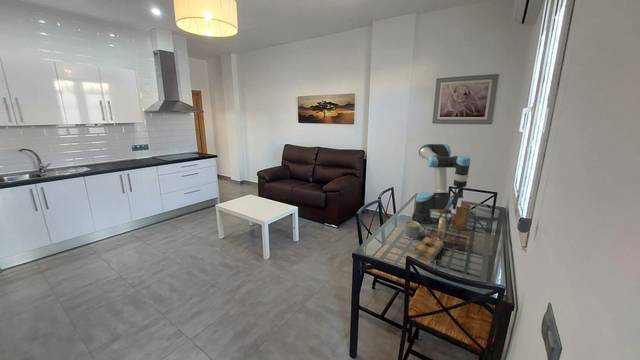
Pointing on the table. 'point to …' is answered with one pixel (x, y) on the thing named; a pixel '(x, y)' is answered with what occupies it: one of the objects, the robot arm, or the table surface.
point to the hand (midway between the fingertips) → (456, 209)
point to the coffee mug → (412, 229)
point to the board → (429, 248)
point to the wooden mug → (442, 210)
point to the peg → (441, 229)
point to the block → (461, 217)
